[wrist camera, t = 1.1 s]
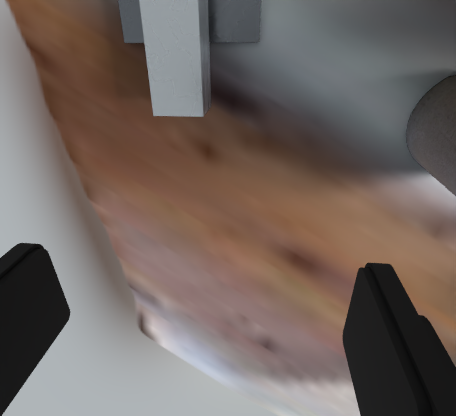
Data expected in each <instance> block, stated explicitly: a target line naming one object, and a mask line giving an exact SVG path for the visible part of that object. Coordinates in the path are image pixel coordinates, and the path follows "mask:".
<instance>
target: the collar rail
mask: <svg viewBox="0 0 456 416" xmlns="http://www.w3.org/2000/svg"><path fill="white" fill-rule="evenodd" d="M118 3H119V10H120V16H121V23H122V29H123V36H124V43H144V35H143V27H142V19H141V11H140V2H139V0H118ZM260 15H261V0H208V19H209V42H259V41H260Z"/></svg>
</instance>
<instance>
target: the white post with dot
mask: <svg viewBox="0 0 456 416" xmlns="http://www.w3.org/2000/svg"><path fill="white" fill-rule="evenodd" d="M139 2H140V11H141V19H142V27H143V35H144V43H145V51H146V59H147V67H148V76H149V84H150V92H151V100H152V108H153V116H192V117H203V116H204V115H205V114H206V113H207V111H208V110H209V109H210V108H211V81H210V50H209V19H208V0H139Z"/></svg>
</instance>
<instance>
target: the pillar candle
mask: <svg viewBox="0 0 456 416" xmlns="http://www.w3.org/2000/svg"><path fill="white" fill-rule="evenodd" d="M406 139H407V146H408V148H409V151H410V153H411V155H412V156H413V158H414V159H415V160H416V161H417V162H418V163H419V164H420V165H421V166H422V167H423V168H425V169H426V170H427V171H428V172H429V173H430V174H431V175H432V176H433V177H434V178H436V179H437V180H438V181H439V182H440V183H441V184H443V185H444V186H445V187H446V188H447V189H448V190H449V191H450V192H452V193H453V194H454V195H455V196H456V75H454V76H450V77H448V78H446V79H444V80H443V81H441V82H440V83H438V84H437V85H435V86H434V87H433V88H432V89H431V90H429V91H428V92H427V93H426V94H425V95H424V96H423V98H422V99H421V100H420V101H419V103H418V104H417V105H416V107H415V109H414V110H413V112H412V114H411V116H410V119H409V121H408V126H407V132H406Z"/></svg>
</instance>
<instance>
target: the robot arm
mask: <svg viewBox="0 0 456 416" xmlns="http://www.w3.org/2000/svg"><path fill="white" fill-rule="evenodd" d="M69 316H70V309H69V307H68V304H67V301H66V298H65V296H64V293H63V291H62V288H61V285H60V283H59V280H58V277H57V274H56V272H55V269H54V266H53V264H52V261H51V258H50V256H49V253H48V251H47V250H46V249H44V248H43V246H42V245H40V244H30V243H20V244H17V245H16V246H14V247H13V248H12V249H11V250H9V251H8V252H7V253H6V254H5V255H3V256H2V257H1V258H0V416H2V414H3V412H5V410H6V409H7V407H8V406H9V404H10V403H11V402H12V400H13V399H14V397H15V396H16V394H17V393H18V392H19V390H20V389H21V387H22V386H23V385H24V383H25V382H26V380H27V379H28V377H29V376H30V374H31V373H32V372H33V370H34V369H35V367H36V366H37V364H38V363H39V361H40V360H41V359H42V357H43V356H44V355H45V353H46V351H47V350H48V349H49V347H50V346H51V344H52V343H53V342H54V340H55V339H56V337H57V336H58V335H59V333H60V332H61V330H62V329H63V327H64V326H65V325H66V323H67V322H68V320H69ZM343 345H344V349H345V353H346V357H347V361H348V366H349V370H350V374H351V378H352V382H353V386H354V390H355V394H356V398H357V402H358V406H359V411H360V415H361V416H456V367H455V365H454V364H453V362H452V360H451V358H450V356H449V355H448V353H447V351H446V349H445V348H444V346H443V344H442V342H441V341H440V339H439V337H438V335H437V334H436V332H435V330H434V328H433V326H432V325H431V323H430V322H429V320H428V319H427V318H426V317H424V316H421V315H418V313H417V311H416V309H415V308H414V306H413V304H412V302H411V300H410V298H409V296H408V295H407V293H406V291H405V289H404V287H403V285H402V283H401V282H400V280H399V278H398V276H397V274H396V272H395V271H394V269H393V267H392V266H391V265H390V264H382V263H367V264H366V266H365V268H359V270H358V273H357V277H356V281H355V285H354V289H353V294H352V298H351V302H350V306H349V310H348V314H347V318H346V322H345V326H344V330H343Z"/></svg>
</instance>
